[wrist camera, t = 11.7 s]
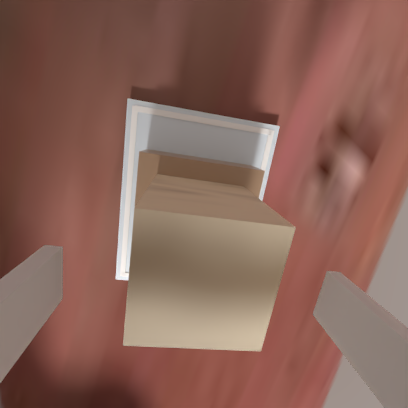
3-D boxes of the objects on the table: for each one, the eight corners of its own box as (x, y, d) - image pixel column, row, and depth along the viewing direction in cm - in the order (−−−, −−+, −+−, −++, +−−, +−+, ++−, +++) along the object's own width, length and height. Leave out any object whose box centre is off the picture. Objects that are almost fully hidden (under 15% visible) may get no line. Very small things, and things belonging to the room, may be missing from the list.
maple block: (227, 262, 21) (260, 351, 12) (148, 254, 20) (122, 345, 11) (243, 186, 19) (295, 227, 10) (157, 174, 18) (134, 207, 9)
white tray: (239, 283, 27) (251, 315, 22) (118, 273, 25) (103, 305, 21) (275, 126, 23) (300, 123, 18) (129, 100, 21) (114, 88, 16)
